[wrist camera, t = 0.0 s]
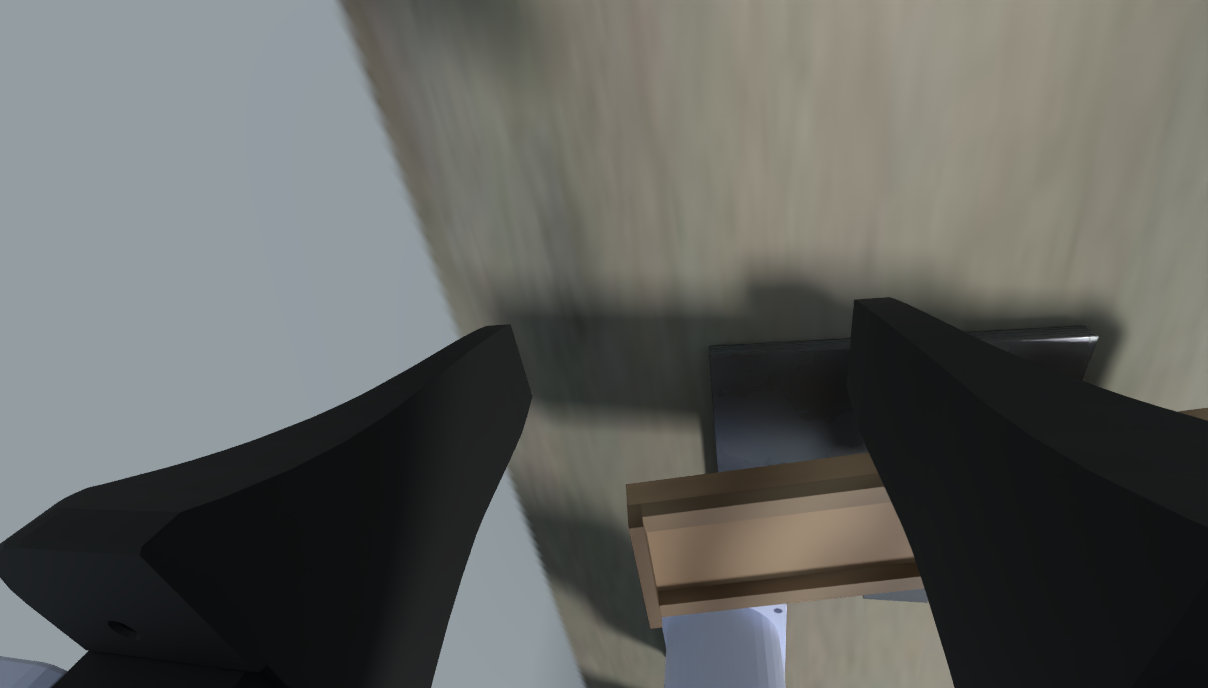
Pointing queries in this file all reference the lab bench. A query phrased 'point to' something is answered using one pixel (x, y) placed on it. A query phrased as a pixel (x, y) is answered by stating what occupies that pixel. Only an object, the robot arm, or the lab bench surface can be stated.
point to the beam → (769, 536)
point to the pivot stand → (833, 398)
